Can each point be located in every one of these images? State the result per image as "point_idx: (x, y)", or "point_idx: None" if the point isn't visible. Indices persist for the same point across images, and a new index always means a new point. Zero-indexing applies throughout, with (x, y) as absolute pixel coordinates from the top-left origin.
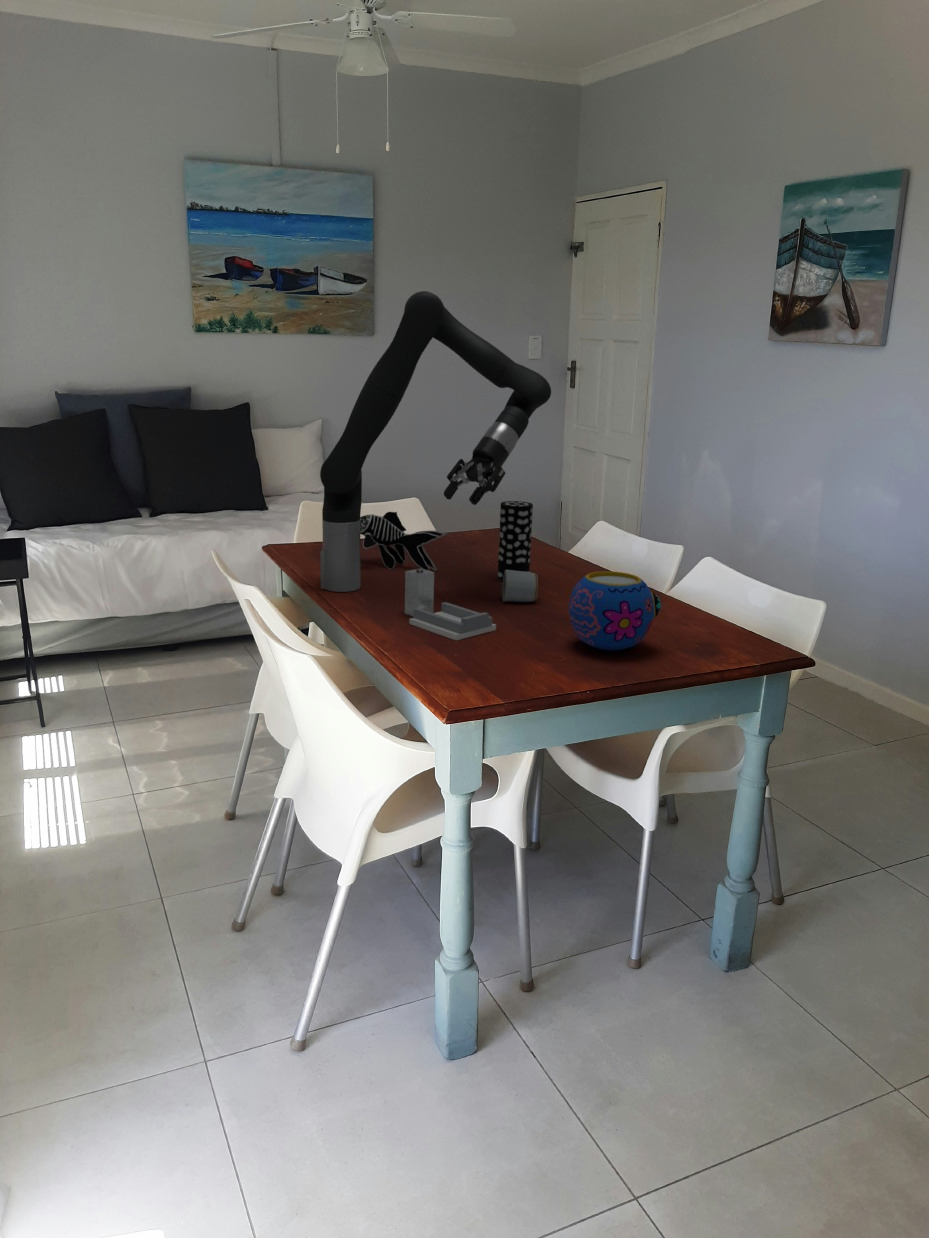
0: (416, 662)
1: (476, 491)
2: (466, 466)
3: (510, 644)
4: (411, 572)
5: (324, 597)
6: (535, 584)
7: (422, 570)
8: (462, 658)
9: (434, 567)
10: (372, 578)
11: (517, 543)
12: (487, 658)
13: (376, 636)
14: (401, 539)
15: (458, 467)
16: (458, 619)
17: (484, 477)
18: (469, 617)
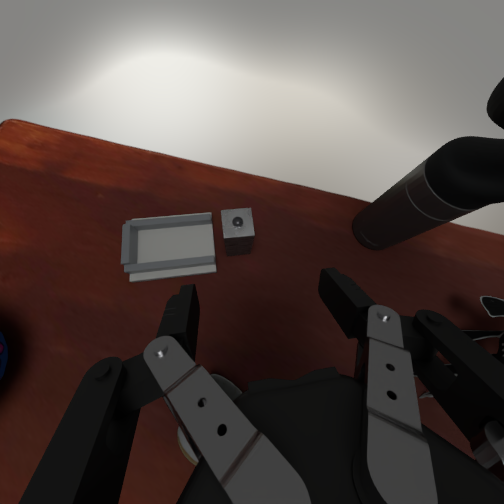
0: (111, 158)
1: (175, 314)
2: (420, 422)
3: (82, 262)
4: (240, 210)
5: (342, 196)
6: (178, 433)
7: (233, 222)
8: (88, 195)
9: (427, 395)
10: (403, 284)
11: None
12: (69, 214)
13: (196, 170)
14: (499, 359)
15: (501, 406)
16: (175, 255)
17: (181, 423)
18: (124, 233)
